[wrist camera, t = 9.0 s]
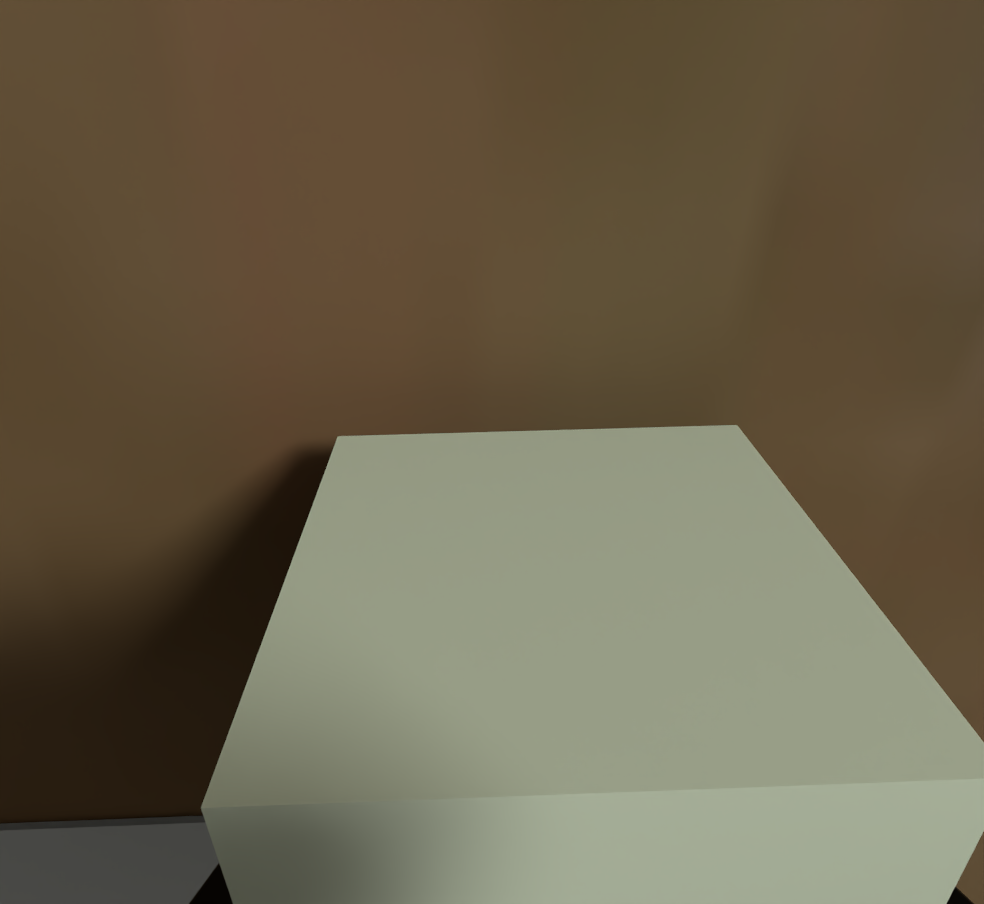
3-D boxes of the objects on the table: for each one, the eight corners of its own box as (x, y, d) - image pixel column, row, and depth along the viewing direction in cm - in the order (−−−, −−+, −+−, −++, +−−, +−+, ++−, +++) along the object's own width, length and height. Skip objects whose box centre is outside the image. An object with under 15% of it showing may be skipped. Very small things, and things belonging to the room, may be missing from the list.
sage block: (736, 424, 9) (1011, 776, 4) (669, 823, 12) (779, 1228, 8) (337, 435, 9) (201, 808, 4) (392, 835, 12) (350, 1249, 8)
